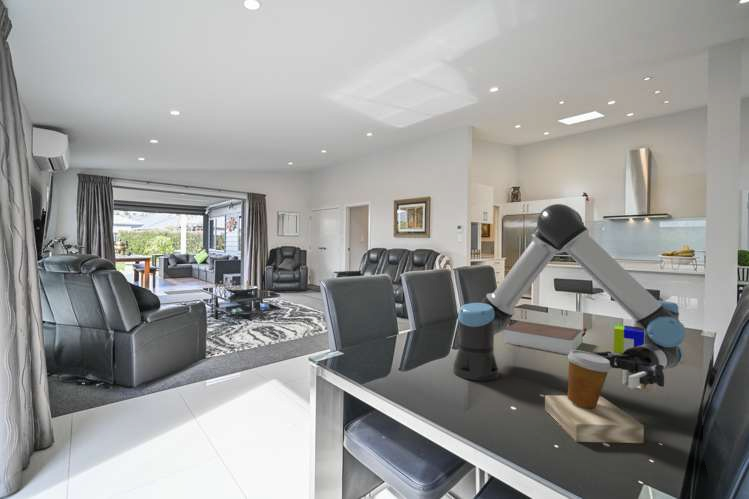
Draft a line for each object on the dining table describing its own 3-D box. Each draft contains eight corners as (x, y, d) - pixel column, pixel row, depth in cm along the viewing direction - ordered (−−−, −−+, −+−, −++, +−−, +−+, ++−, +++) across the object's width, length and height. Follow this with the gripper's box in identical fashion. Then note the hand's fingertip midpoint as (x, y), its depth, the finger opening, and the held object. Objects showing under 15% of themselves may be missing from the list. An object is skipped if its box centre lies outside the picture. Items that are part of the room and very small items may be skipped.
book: (519, 333, 177) (519, 320, 177) (582, 343, 159) (582, 329, 159) (502, 343, 158) (502, 329, 158) (571, 356, 140) (572, 340, 140)
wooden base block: (576, 441, 78) (576, 424, 78) (544, 410, 93) (545, 395, 93) (643, 443, 78) (643, 425, 78) (601, 411, 93) (601, 396, 93)
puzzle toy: (643, 357, 140) (644, 332, 140) (613, 352, 146) (614, 328, 146) (643, 351, 148) (643, 327, 148) (614, 346, 154) (615, 324, 154)
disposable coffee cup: (593, 397, 93) (601, 353, 92) (611, 415, 83) (620, 367, 83) (555, 389, 94) (562, 346, 93) (568, 406, 85) (577, 359, 84)
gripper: (701, 390, 86) (659, 408, 76) (596, 360, 108) (553, 371, 98) (702, 359, 86) (659, 374, 76) (597, 336, 108) (553, 344, 98)
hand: (599, 372), depth 87 cm, fingers open, 13 cm apart
